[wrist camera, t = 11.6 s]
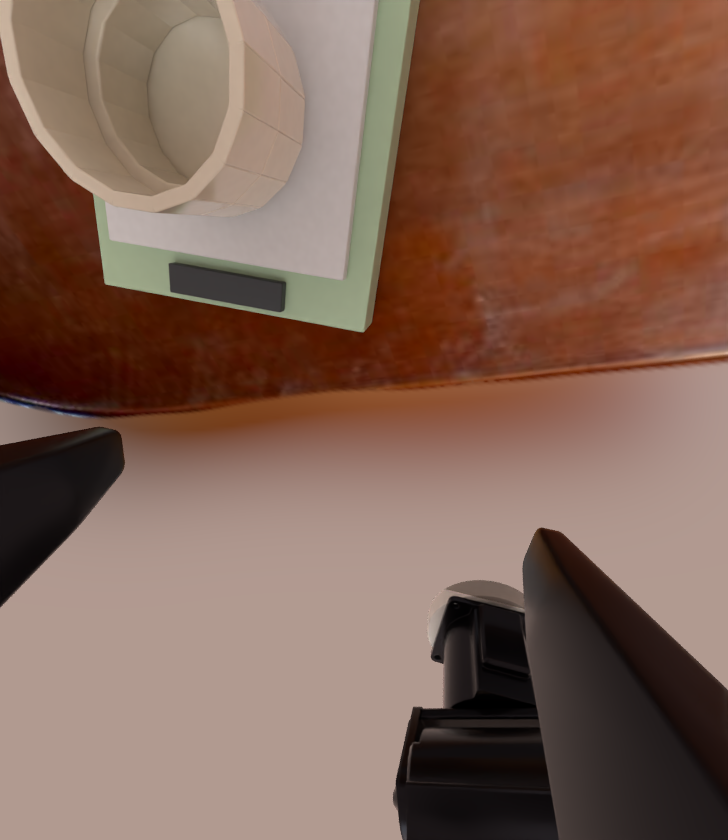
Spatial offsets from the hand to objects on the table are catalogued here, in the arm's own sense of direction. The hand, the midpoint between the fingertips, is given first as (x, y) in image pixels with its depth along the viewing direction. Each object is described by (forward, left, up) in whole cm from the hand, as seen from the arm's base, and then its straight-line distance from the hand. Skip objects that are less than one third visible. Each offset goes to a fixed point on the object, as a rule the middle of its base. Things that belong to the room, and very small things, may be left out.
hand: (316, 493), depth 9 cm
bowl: (+8, +7, -9) cm, 14 cm away
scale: (+7, +7, -12) cm, 16 cm away
